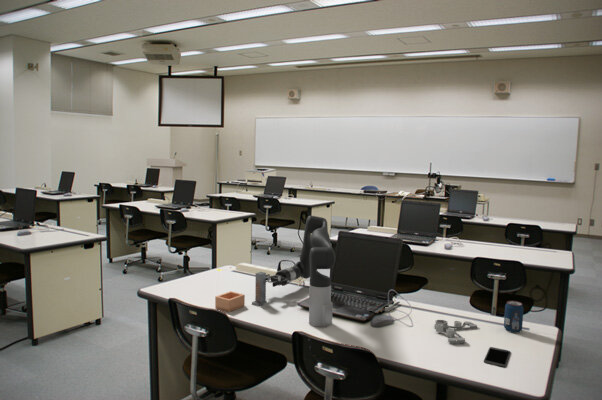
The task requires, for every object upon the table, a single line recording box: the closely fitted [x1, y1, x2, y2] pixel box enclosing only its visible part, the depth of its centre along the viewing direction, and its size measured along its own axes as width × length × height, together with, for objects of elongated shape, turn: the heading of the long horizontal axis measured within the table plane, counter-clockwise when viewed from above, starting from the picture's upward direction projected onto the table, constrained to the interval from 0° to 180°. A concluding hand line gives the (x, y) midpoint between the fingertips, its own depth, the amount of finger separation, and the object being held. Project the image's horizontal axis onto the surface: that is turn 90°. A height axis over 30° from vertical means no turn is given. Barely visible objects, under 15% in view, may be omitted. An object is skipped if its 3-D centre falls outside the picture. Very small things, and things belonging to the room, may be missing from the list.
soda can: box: [503, 300, 524, 334], centre depth 181 cm, size 7×7×12 cm
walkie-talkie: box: [383, 301, 400, 312], centre depth 207 cm, size 9×4×20 cm
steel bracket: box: [251, 271, 268, 307], centre depth 209 cm, size 4×6×15 cm
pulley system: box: [433, 319, 478, 345], centre depth 180 cm, size 27×5×15 cm
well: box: [214, 290, 246, 313], centre depth 204 cm, size 9×10×6 cm
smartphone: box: [483, 346, 511, 369], centre depth 157 cm, size 7×15×1 cm, turn 148°
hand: (266, 283), depth 214 cm, fingers open, 8 cm apart
